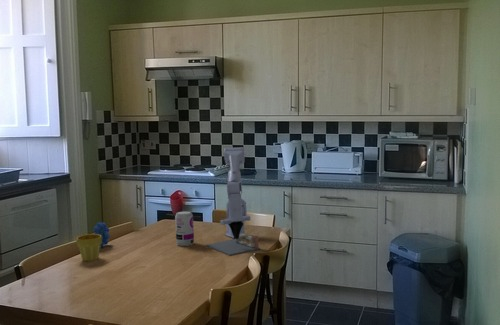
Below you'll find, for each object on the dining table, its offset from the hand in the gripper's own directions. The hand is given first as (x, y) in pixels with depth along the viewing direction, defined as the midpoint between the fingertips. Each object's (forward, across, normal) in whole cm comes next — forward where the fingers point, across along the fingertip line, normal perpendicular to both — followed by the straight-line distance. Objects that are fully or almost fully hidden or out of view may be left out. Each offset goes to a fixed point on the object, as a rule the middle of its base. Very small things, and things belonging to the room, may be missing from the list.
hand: (236, 238), depth 232 cm
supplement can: (+5, -14, +23) cm, 27 cm away
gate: (+4, +5, 0) cm, 7 cm away
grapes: (+5, -46, +44) cm, 64 cm away
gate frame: (+5, 0, +3) cm, 6 cm away
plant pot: (+5, -57, +28) cm, 64 cm away
